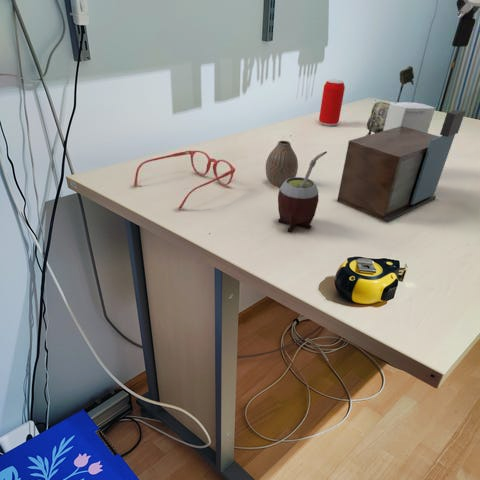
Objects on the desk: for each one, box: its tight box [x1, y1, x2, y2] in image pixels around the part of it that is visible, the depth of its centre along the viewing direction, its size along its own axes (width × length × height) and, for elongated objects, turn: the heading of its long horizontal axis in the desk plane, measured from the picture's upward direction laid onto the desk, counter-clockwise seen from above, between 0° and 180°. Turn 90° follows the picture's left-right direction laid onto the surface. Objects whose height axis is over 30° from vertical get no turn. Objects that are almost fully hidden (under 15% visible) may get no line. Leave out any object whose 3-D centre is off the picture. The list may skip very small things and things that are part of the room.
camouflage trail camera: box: [365, 65, 415, 136], centre depth 105 cm, size 8×11×20 cm
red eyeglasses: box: [133, 150, 236, 210], centre depth 87 cm, size 17×16×5 cm
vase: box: [265, 140, 299, 188], centre depth 90 cm, size 7×7×9 cm
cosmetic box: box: [383, 101, 436, 133], centre depth 97 cm, size 8×6×15 cm
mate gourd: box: [277, 150, 328, 233], centre depth 73 cm, size 8×8×15 cm
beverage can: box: [318, 78, 346, 127], centre depth 128 cm, size 6×6×12 cm
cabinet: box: [336, 126, 441, 224], centre depth 84 cm, size 12×18×12 cm
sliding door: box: [410, 109, 466, 205], centre depth 81 cm, size 2×9×16 cm, turn 131°
